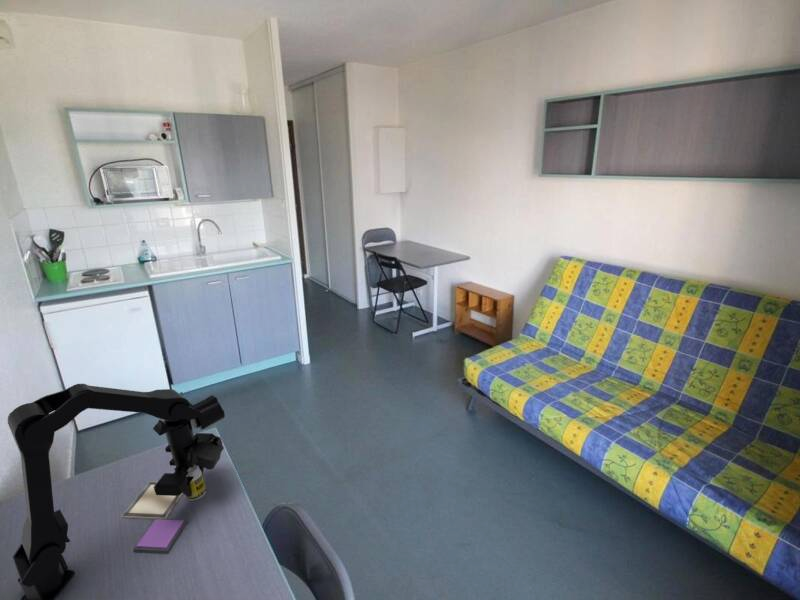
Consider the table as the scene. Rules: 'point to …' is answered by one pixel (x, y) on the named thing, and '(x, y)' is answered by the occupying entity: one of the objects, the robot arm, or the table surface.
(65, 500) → the table surface
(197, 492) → the supplement bottle
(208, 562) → the table surface
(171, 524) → the ink pad
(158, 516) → the marked board
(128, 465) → the table surface
